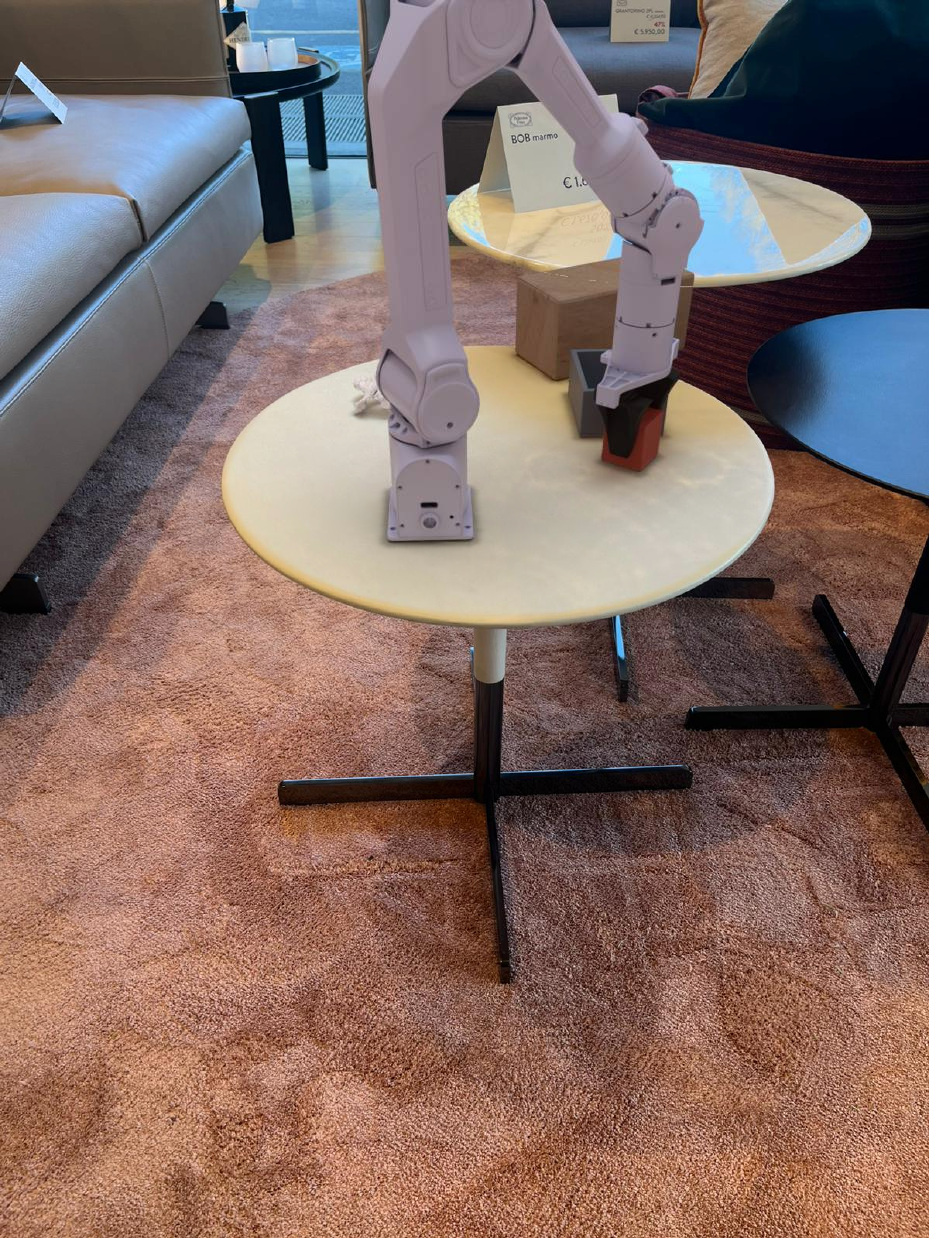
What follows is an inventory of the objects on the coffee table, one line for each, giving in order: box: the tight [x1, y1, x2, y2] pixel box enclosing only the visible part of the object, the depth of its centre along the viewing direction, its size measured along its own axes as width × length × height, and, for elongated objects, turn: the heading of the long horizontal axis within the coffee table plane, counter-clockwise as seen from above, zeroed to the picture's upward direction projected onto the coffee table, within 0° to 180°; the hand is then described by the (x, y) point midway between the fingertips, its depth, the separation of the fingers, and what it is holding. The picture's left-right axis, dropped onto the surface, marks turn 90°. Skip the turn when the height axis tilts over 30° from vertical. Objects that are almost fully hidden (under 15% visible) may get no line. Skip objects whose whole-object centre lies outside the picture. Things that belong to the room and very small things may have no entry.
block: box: [600, 407, 664, 472], centre depth 96 cm, size 4×4×5 cm
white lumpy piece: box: [353, 374, 390, 413], centre depth 107 cm, size 8×4×7 cm
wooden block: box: [514, 256, 695, 381], centre depth 117 cm, size 10×10×20 cm
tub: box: [567, 349, 670, 439], centre depth 104 cm, size 11×9×6 cm
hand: (630, 445), depth 97 cm, fingers closed on block, 4 cm apart
